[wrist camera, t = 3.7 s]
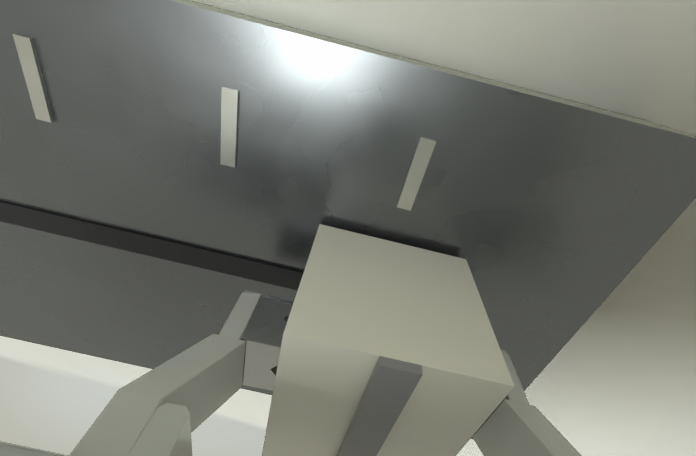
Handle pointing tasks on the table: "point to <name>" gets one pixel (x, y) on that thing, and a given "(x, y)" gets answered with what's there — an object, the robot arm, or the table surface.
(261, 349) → the robot arm
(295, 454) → the fader knob
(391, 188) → the fader panel
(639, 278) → the table surface
